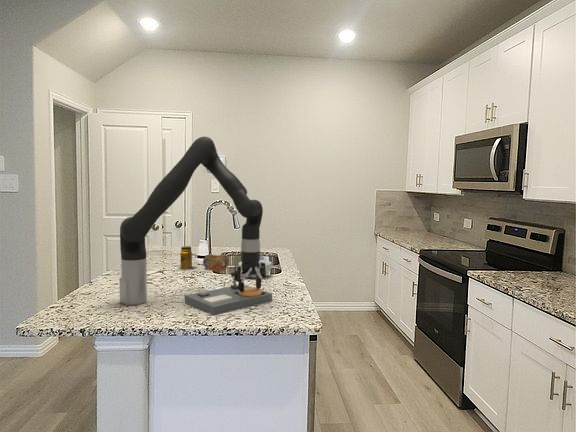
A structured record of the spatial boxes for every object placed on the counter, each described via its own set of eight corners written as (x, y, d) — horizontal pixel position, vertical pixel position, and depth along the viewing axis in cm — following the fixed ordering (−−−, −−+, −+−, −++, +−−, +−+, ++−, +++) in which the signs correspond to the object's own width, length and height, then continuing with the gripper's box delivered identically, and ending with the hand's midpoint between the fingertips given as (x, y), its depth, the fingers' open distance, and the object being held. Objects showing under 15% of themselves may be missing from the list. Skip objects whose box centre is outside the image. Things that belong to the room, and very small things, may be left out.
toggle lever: (234, 285, 173) (232, 272, 174) (232, 285, 175) (229, 273, 176) (238, 284, 175) (235, 271, 176) (235, 285, 176) (233, 272, 177)
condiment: (177, 269, 226) (177, 247, 225) (186, 266, 234) (186, 245, 233) (188, 270, 224) (188, 248, 223) (197, 267, 232) (197, 246, 231)
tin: (202, 269, 227) (202, 253, 226) (206, 268, 230) (206, 253, 229) (225, 272, 220) (225, 256, 219) (228, 271, 223) (228, 255, 222)
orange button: (248, 300, 161) (248, 294, 161) (234, 295, 168) (234, 289, 168) (266, 296, 167) (266, 290, 167) (251, 291, 174) (251, 286, 174)
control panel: (213, 315, 149) (213, 303, 148) (184, 302, 163) (184, 292, 163) (272, 300, 168) (272, 290, 168) (241, 291, 182) (241, 281, 182)
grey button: (201, 296, 161) (201, 292, 161) (196, 294, 164) (196, 290, 164) (209, 295, 164) (209, 291, 164) (204, 293, 166) (204, 289, 166)
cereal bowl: (254, 271, 224) (254, 258, 223) (278, 276, 213) (278, 262, 213) (231, 276, 211) (231, 262, 210) (255, 281, 200) (255, 267, 199)
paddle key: (211, 307, 152) (211, 301, 151) (202, 304, 155) (202, 298, 155) (232, 302, 158) (232, 297, 158) (224, 299, 162) (224, 294, 162)
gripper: (242, 252, 158) (241, 294, 160) (270, 249, 168) (269, 288, 170) (230, 250, 164) (230, 290, 165) (258, 247, 174) (257, 285, 175)
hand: (250, 289), depth 167 cm, fingers open, 8 cm apart
